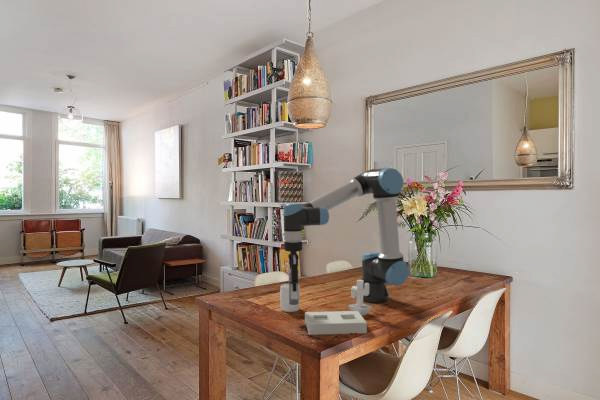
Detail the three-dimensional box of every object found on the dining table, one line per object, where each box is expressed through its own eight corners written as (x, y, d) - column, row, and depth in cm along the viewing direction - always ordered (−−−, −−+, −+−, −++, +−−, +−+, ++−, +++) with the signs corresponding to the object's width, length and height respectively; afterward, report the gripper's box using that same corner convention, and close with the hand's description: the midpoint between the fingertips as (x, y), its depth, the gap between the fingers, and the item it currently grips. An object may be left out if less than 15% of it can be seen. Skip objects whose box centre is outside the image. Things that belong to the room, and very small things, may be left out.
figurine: (357, 309, 170) (357, 276, 169) (373, 315, 162) (374, 280, 162) (346, 312, 165) (346, 279, 165) (362, 318, 158) (362, 283, 157)
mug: (287, 303, 178) (287, 281, 178) (303, 310, 169) (303, 286, 168) (272, 306, 173) (272, 283, 172) (287, 313, 163) (288, 289, 163)
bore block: (357, 320, 155) (357, 310, 155) (366, 333, 142) (366, 322, 141) (304, 321, 153) (305, 312, 153) (309, 334, 139) (309, 324, 139)
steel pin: (298, 301, 157) (297, 268, 157) (299, 304, 153) (298, 270, 153) (288, 302, 157) (288, 269, 156) (289, 305, 153) (289, 271, 152)
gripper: (283, 238, 162) (283, 291, 163) (285, 244, 145) (286, 303, 146) (300, 238, 163) (300, 291, 164) (304, 243, 146) (305, 303, 147)
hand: (293, 297), depth 155 cm, fingers closed on steel pin, 4 cm apart
